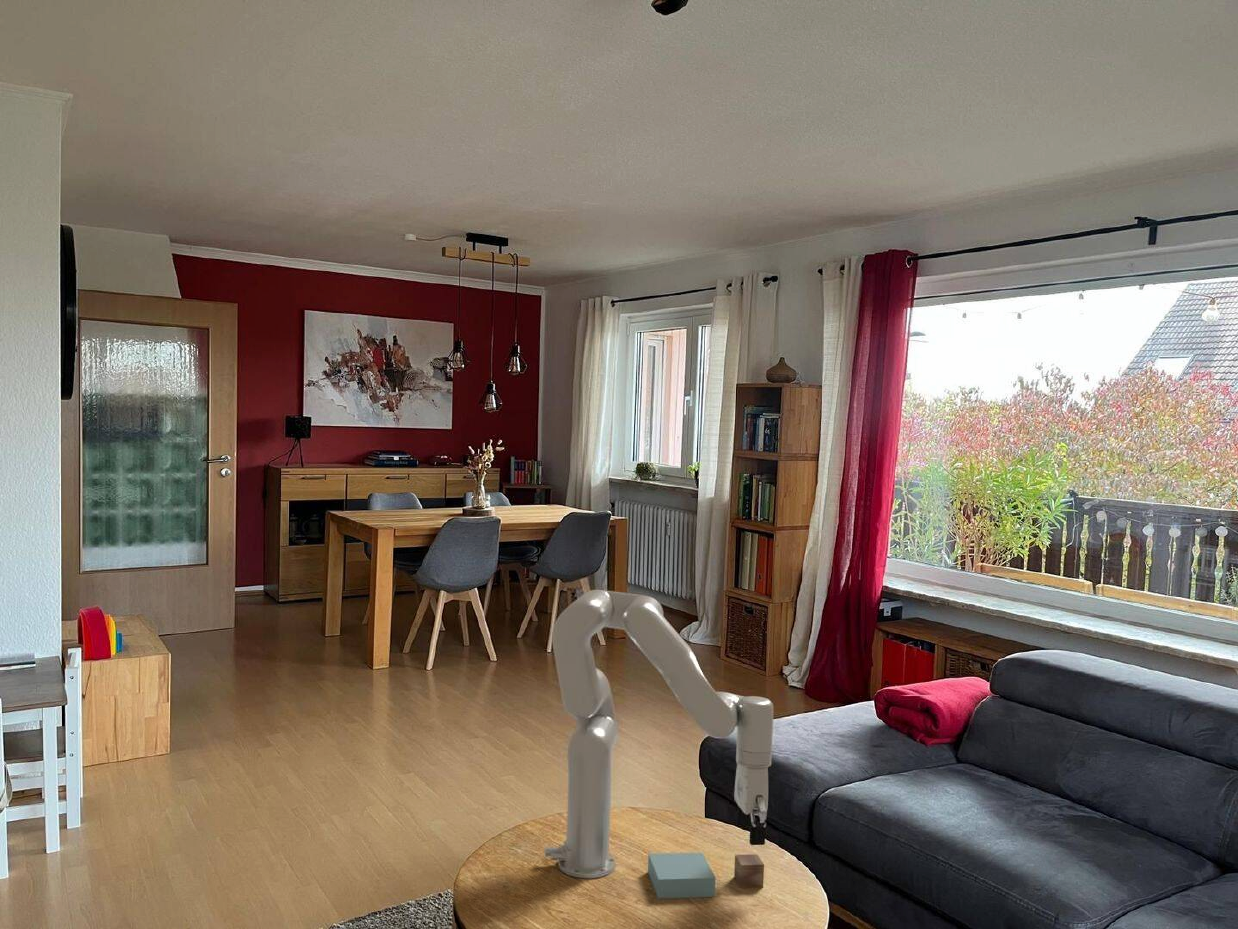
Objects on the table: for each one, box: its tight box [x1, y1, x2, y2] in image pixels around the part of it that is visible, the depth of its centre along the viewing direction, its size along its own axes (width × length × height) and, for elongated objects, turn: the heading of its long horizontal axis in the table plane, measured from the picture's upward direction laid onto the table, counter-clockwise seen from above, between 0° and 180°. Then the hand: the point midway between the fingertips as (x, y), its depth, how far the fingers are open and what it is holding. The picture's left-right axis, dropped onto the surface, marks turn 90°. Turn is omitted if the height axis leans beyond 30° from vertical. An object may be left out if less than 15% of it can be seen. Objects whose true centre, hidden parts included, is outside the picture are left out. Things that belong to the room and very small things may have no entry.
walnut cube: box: [733, 853, 765, 889], centre depth 202 cm, size 5×5×5 cm
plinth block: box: [647, 852, 716, 900], centre depth 200 cm, size 12×12×4 cm
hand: (750, 834), depth 202 cm, fingers open, 9 cm apart
